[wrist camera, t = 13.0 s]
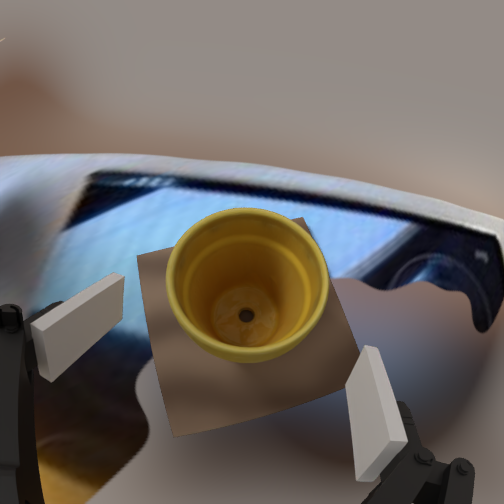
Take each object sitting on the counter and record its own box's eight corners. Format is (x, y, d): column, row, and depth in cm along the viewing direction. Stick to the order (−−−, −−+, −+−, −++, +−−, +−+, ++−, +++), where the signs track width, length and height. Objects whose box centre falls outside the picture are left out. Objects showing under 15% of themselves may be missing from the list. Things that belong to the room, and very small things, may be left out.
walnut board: (139, 261, 31) (136, 255, 30) (301, 223, 34) (303, 217, 33) (176, 436, 23) (173, 437, 22) (364, 379, 26) (368, 377, 25)
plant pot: (262, 249, 31) (271, 184, 22) (323, 335, 27) (361, 298, 18) (168, 298, 28) (140, 246, 20) (224, 396, 24) (216, 390, 15)
